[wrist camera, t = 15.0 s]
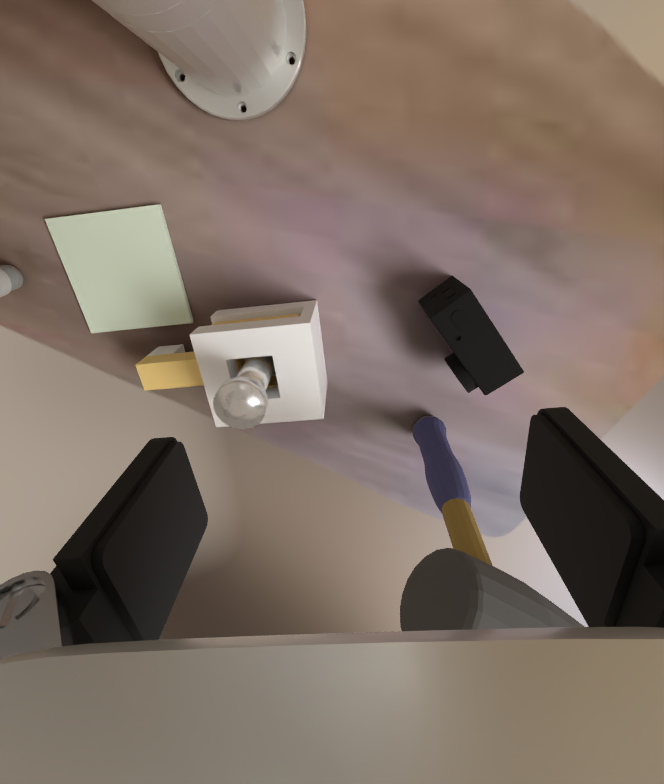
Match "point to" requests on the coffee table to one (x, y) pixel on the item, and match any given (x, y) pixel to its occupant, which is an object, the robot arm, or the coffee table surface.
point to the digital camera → (470, 338)
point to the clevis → (245, 340)
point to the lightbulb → (9, 279)
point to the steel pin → (245, 394)
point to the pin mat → (122, 268)
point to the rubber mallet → (465, 561)
